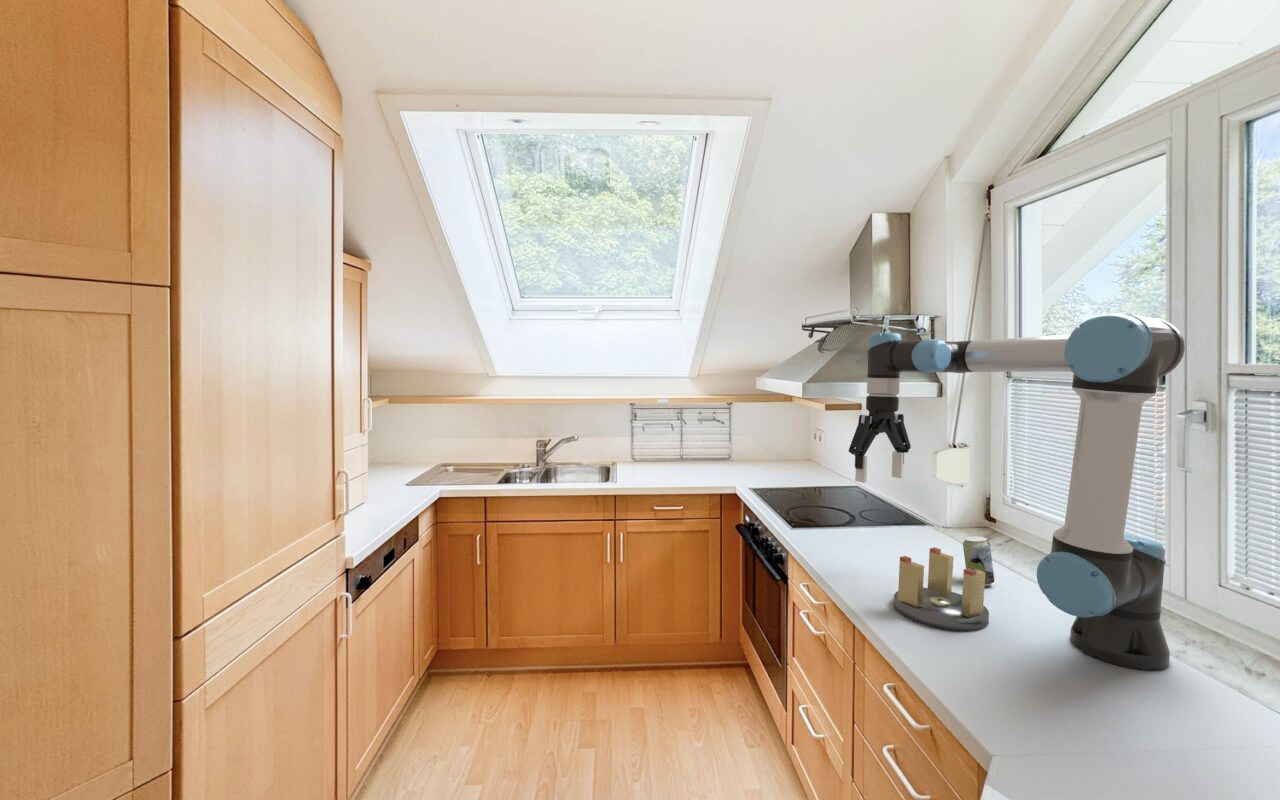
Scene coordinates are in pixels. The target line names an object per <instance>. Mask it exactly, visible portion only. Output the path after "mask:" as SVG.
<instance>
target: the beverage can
mask: <svg viewBox="0 0 1280 800" xmlns="http://www.w3.org/2000/svg"><path fill="white" fill-rule="evenodd" d="M962 548H963V557H964V564H965V569H967V568H969V569H972V570H980V571H983V572H985V585H984V587H987V586H991V585H992V584H993V583H994V582H995V574H994V566H993V557H992V550H991V549H992V548H991V543H990V542H989V541H988V539H987V537H985V536H980V535H971V536H966V537H965V538H964V540H963V542H962Z"/></svg>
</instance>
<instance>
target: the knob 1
mask: <svg viewBox="0 0 1280 800" xmlns="http://www.w3.org/2000/svg"><path fill="white" fill-rule="evenodd" d="M924 575H925V565H923V564H920V563H917V562H915V561H912V557H910V556H906V555H904V556H900V557H899V569H898V588H897V589H898V590H897V591H898V600H900V601H903V602H905V603H908V604H910V605H912V606H915V607H920V606H922V599H923V588H924Z"/></svg>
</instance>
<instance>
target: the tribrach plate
mask: <svg viewBox="0 0 1280 800" xmlns="http://www.w3.org/2000/svg"><path fill="white" fill-rule="evenodd" d="M893 609H894V610H895V611H896V612H897V613H898V614H899V615H901V616H902V617H904V618H906V619H907V618H908V620H909V619H910V621H911V620H912V622H914V623H916V622H917V624H919V623H920V624H919V625H922V624H923V625H922V626H925V625H926V627H928V626H929V628H932V627H933V629H936V628H937V629H938V630H943V631H948V632H949V631H950V632H960V633H961V632H963V633H965V632H966V633H968V632H977V631H980V630H981V631H982V630H983V629H985V628H987V627H988V625H989V624H990V623H989V621H990V619H989V618H990V611H989V609H988V608H987V607H986V606H985V605H984V604H983V613H982V614H979V615H976V616H973V617H970V618H969V617H967V616H964V615H962V614H961V610H962V594H960V593H957V592H955V591H952V593H951V595H948V596H945V595H943V594H940V593H937V592H935V591H932V590H929V589H928V587H923V599H922V606H920V607H915V606H912V605H910V604H908V603H905V602H903V601H900V600H898V590H897V591H895V593H894V595H893ZM937 629H936V630H937Z"/></svg>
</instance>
